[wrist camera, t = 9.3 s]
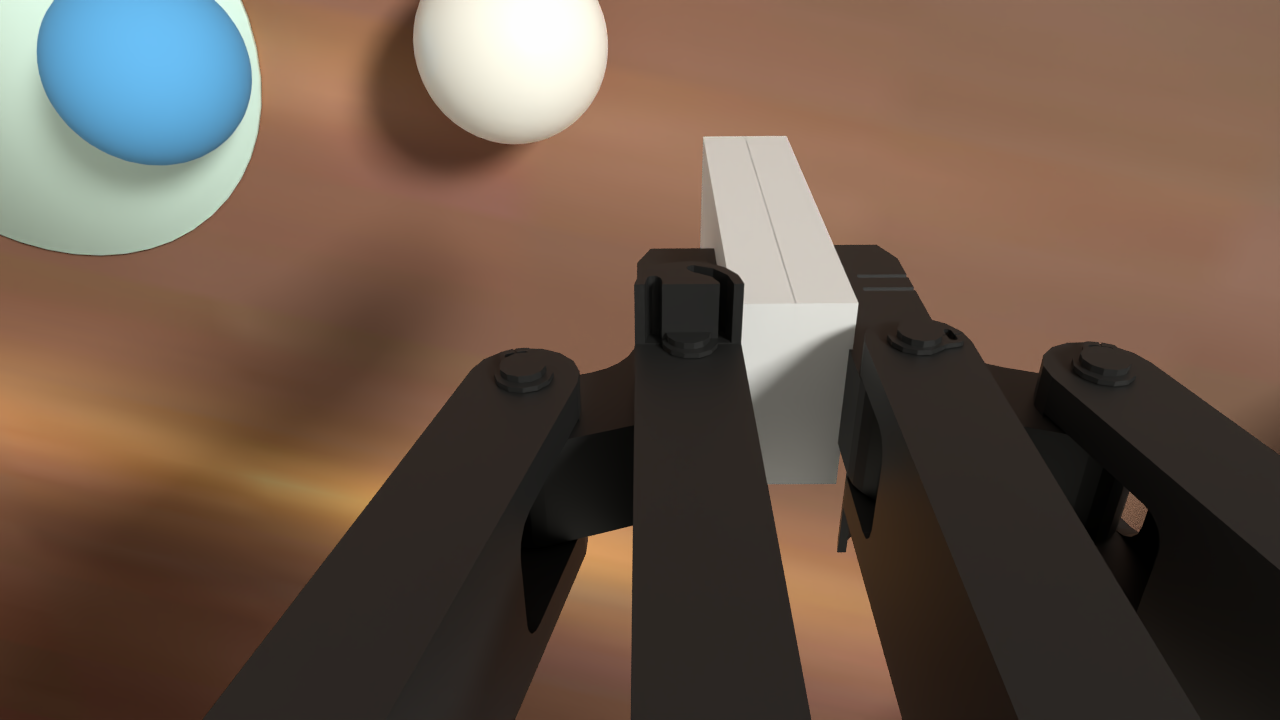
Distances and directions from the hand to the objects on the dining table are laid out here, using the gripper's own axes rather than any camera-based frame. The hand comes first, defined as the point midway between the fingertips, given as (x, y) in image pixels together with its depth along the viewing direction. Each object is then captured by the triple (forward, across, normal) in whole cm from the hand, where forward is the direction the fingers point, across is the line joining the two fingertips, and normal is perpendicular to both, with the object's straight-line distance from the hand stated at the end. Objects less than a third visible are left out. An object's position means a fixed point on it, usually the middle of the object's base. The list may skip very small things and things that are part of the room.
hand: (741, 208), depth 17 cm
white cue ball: (+11, +6, -1) cm, 12 cm away
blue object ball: (+11, +16, 0) cm, 20 cm away
